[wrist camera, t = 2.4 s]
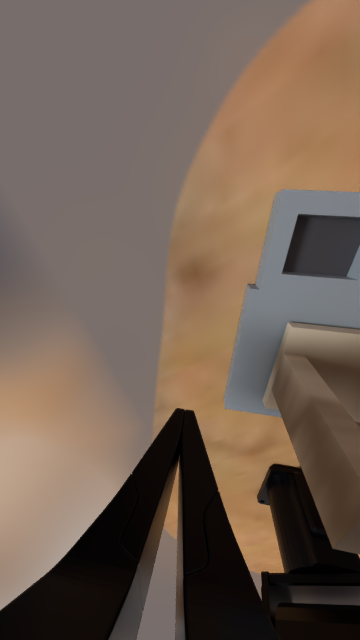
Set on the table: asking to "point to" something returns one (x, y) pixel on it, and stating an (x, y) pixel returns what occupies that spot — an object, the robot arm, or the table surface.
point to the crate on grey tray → (296, 285)
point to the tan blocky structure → (323, 420)
